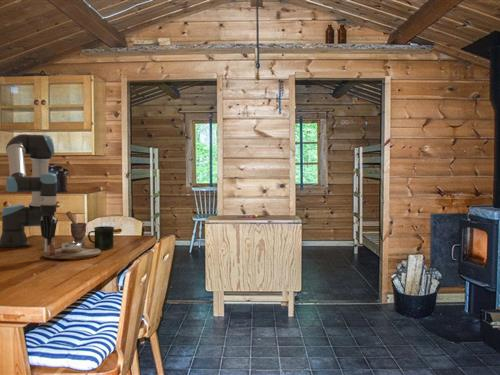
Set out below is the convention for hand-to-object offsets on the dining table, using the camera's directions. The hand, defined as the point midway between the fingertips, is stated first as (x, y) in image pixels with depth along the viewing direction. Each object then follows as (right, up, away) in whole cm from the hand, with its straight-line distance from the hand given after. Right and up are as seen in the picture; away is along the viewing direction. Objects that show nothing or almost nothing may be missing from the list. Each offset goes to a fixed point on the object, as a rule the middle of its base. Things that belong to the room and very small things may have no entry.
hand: (47, 251), depth 225 cm
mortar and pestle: (-1, -2, +39) cm, 39 cm away
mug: (+16, -3, +31) cm, 36 cm away
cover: (+8, -2, +9) cm, 12 cm away
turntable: (+9, -4, +9) cm, 13 cm away
